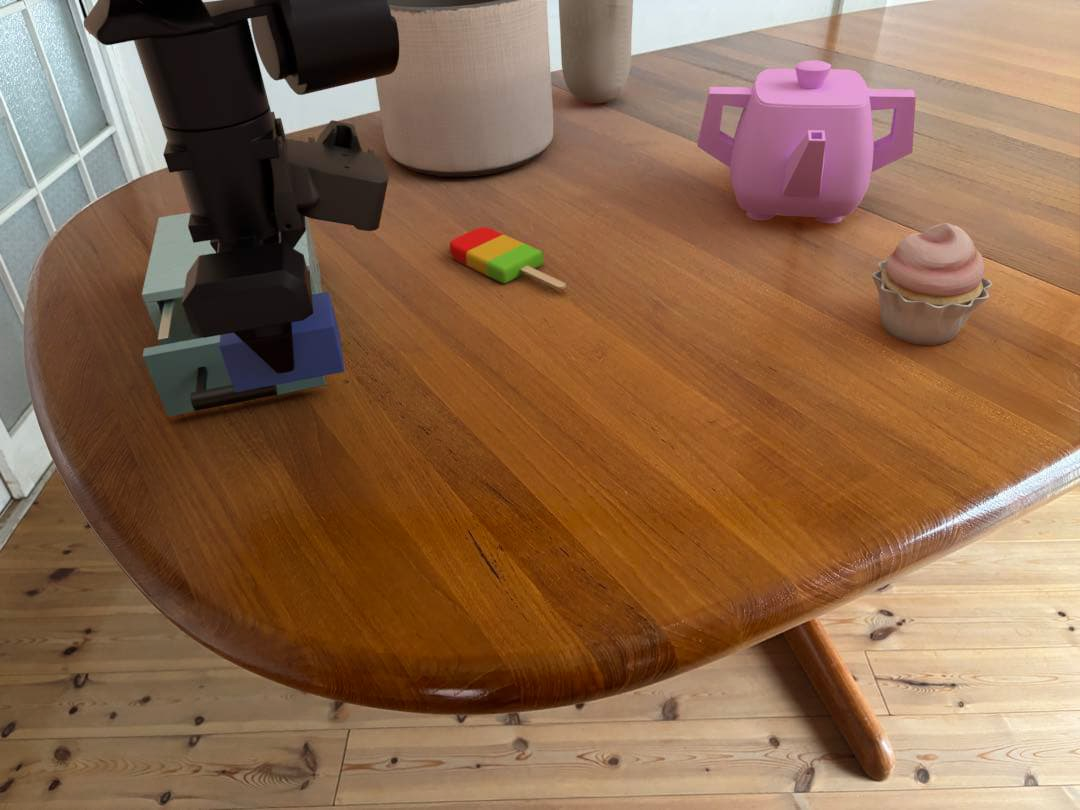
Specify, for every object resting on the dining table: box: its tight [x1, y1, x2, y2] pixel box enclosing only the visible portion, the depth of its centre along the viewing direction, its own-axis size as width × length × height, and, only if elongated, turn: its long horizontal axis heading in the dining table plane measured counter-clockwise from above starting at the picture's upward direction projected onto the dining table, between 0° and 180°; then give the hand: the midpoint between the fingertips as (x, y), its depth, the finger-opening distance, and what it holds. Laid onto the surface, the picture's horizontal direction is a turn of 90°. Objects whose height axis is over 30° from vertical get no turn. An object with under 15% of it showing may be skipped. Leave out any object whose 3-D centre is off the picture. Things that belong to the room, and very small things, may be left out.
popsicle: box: [449, 226, 567, 290], centre depth 83 cm, size 6×15×2 cm, turn 43°
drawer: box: [142, 297, 327, 417], centre depth 69 cm, size 20×13×6 cm, turn 16°
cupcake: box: [871, 222, 993, 346], centre depth 69 cm, size 9×9×10 cm
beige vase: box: [558, 0, 634, 104], centre depth 116 cm, size 10×10×28 cm
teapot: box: [697, 59, 917, 224], centre depth 88 cm, size 19×18×15 cm
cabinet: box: [141, 212, 323, 336], centre depth 78 cm, size 16×14×8 cm
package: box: [219, 291, 345, 392], centre depth 54 cm, size 5×7×4 cm, turn 105°
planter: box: [374, 0, 555, 178], centre depth 105 cm, size 23×23×20 cm
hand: (285, 350), depth 54 cm, fingers closed on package, 4 cm apart
